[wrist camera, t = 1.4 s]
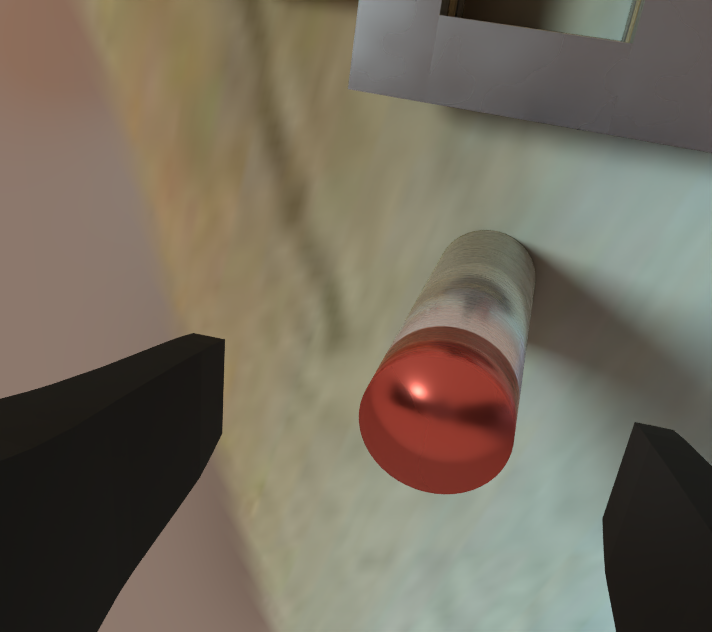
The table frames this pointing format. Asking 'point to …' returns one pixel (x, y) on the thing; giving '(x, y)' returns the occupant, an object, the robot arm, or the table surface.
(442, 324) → the clear red-capped cylinder
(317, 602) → the table surface
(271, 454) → the table surface
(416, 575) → the table surface
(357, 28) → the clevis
